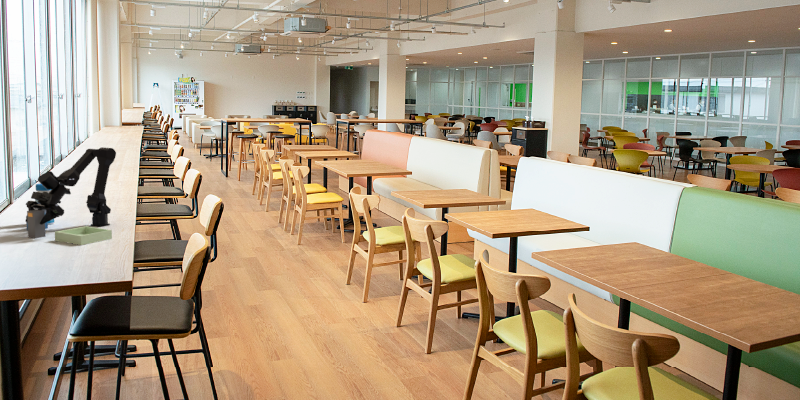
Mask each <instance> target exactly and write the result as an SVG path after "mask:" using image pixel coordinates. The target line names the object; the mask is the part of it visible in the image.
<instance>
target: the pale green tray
mask: <svg viewBox="0 0 800 400" xmlns="http://www.w3.org/2000/svg"><path fill="white" fill-rule="evenodd" d="M112 239H113V232H112V229H107V228H101V227H96V226H79V227H74V228H68V229H63V230H58V231H57V230H56V231H54V241H55V242H60V243H66V242H68V243H67V244H71V243H73V244H74V245H77V244H78V245H79V246H83V245H89V244H93V243H97V242H102V241H107V240H112ZM73 244H72V245H73ZM78 245H77V246H78Z"/></svg>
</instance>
